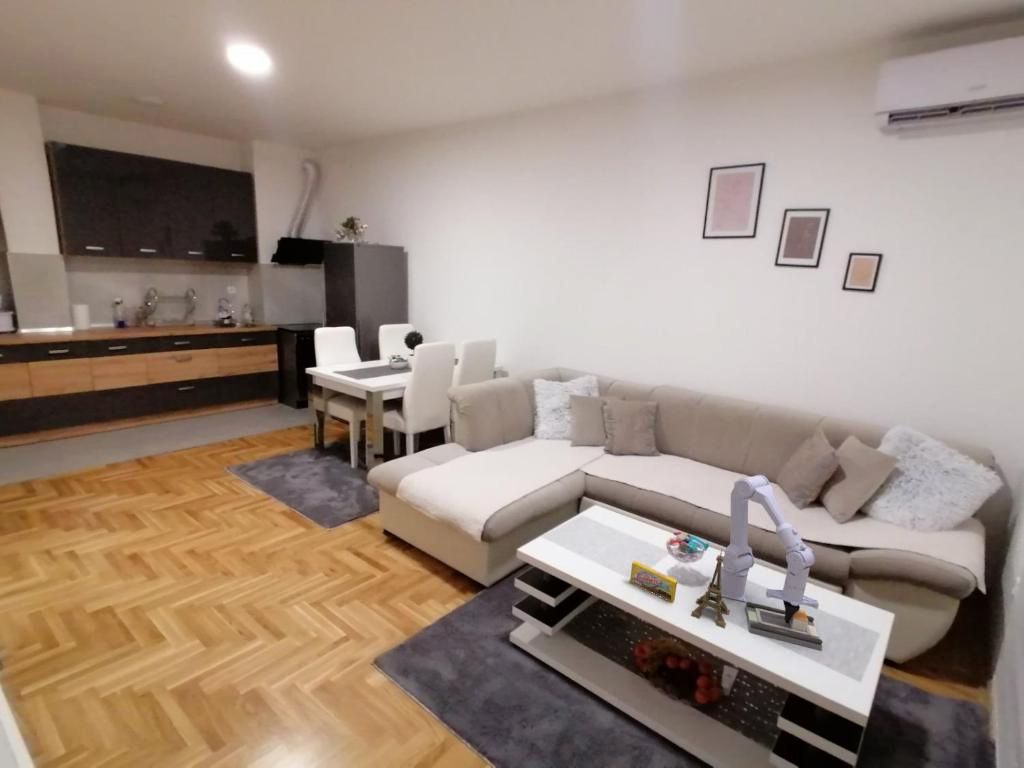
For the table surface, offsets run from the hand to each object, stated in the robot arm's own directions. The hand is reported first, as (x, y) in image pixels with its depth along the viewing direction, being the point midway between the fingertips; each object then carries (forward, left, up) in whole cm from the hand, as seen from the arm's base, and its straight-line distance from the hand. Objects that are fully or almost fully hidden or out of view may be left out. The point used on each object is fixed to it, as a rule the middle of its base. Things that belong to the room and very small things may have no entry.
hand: (786, 621), depth 163 cm
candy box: (-42, +3, -3) cm, 42 cm away
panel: (-1, 0, -3) cm, 3 cm away
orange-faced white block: (+3, 0, -1) cm, 3 cm away
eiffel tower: (-23, -1, -3) cm, 23 cm away
